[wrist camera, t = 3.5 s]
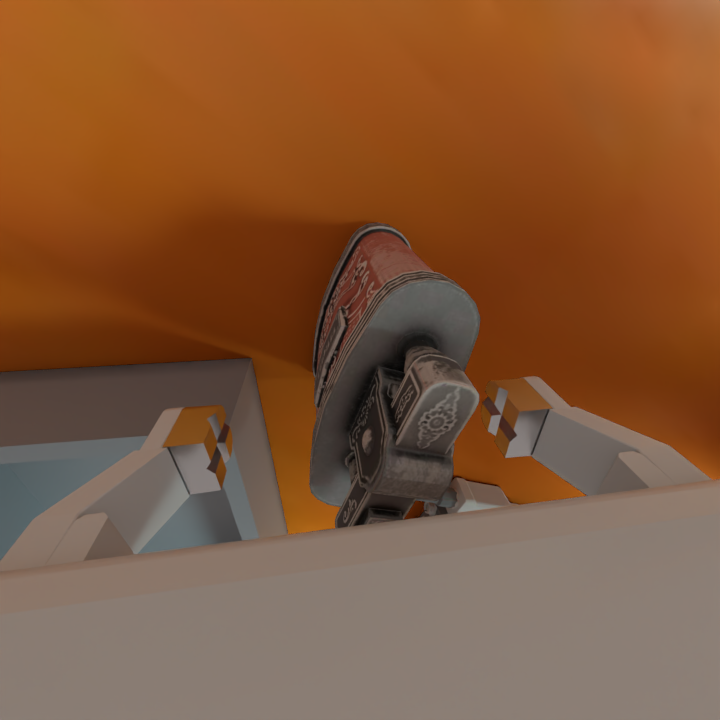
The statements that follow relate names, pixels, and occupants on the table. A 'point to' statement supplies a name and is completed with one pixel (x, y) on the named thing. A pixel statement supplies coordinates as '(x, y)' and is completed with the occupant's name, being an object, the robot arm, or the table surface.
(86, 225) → the table surface
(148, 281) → the table surface
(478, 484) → the walkie-talkie
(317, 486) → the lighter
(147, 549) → the grey tray
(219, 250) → the table surface
